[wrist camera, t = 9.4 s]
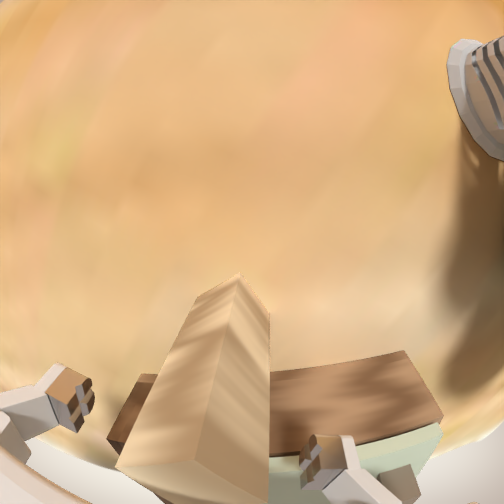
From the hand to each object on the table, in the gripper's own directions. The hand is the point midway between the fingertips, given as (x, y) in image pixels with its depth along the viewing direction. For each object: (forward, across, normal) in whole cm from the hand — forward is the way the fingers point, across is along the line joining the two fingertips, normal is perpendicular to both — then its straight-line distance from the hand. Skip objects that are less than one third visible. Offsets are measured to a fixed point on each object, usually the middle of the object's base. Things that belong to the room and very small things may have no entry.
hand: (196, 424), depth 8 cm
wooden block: (+9, 0, 0) cm, 9 cm away
